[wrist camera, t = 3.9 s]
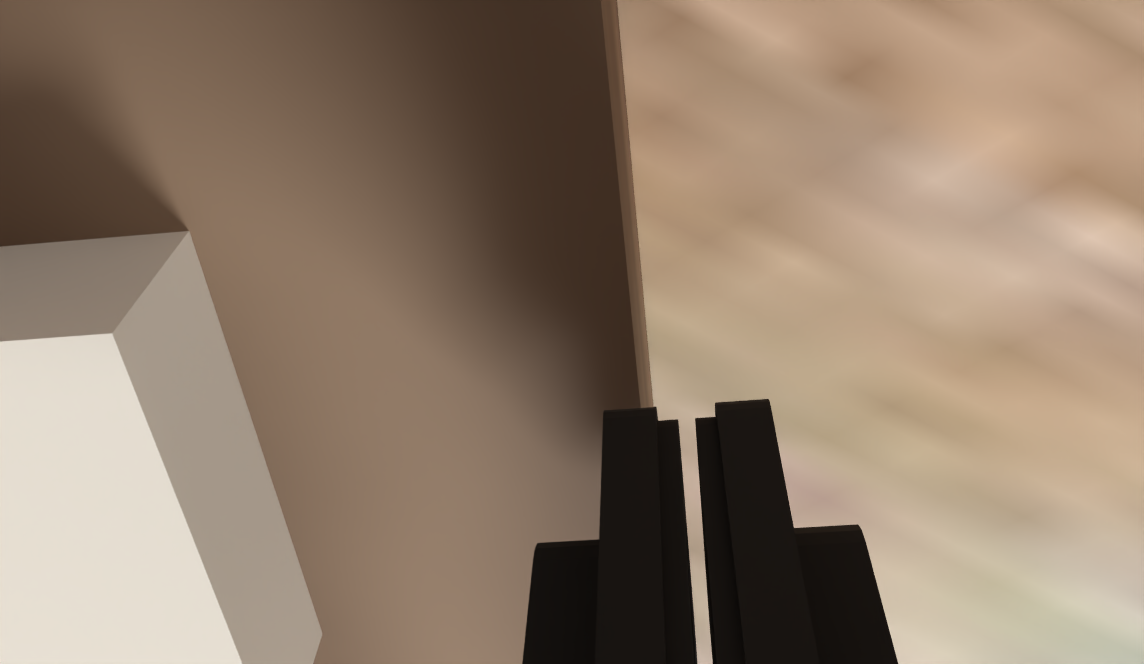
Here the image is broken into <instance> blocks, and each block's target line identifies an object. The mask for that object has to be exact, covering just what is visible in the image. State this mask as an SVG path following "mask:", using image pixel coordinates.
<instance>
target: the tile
mask: <svg viewBox="0 0 1144 664" xmlns="http://www.w3.org/2000/svg"><path fill="white" fill-rule="evenodd" d="M321 637H322V631H321V628H320V625H319V622H318V619H317V616H316V613H315V610H314V607H313V603H312V600H311V597H310V594H309V591H308V588H307V585H306V582H305V579H304V576H303V573H302V570H301V567H300V564H299V561H298V558H297V555H296V552H295V549H294V546H293V543H292V540H291V537H290V534H289V531H288V528H287V525H286V522H285V519H284V516H283V513H282V510H281V507H280V504H279V501H278V498H277V495H276V492H275V489H274V486H273V483H272V480H271V477H270V474H269V471H268V468H267V465H266V462H265V459H264V456H263V452H262V449H261V446H260V443H259V440H258V437H257V434H256V431H255V428H254V425H253V422H252V419H251V416H250V413H249V410H248V407H247V404H246V401H245V398H244V395H243V392H242V389H241V386H240V383H239V380H238V377H237V374H236V371H235V368H234V365H233V362H232V359H231V356H230V353H229V350H228V347H227V344H226V341H225V338H224V335H223V332H222V329H221V326H220V323H219V320H218V317H217V314H216V311H215V308H214V305H213V301H212V298H211V295H210V292H209V289H208V286H207V283H206V280H205V277H204V274H203V271H202V268H201V265H200V262H199V259H198V256H197V253H196V250H195V247H194V244H193V241H192V238H191V235H190V232H189V231H183V232H171V233H159V234H147V235H134V236H122V237H110V238H98V239H86V240H74V241H62V242H50V243H38V244H26V245H14V246H2V247H0V664H313V662H314V659H315V656H316V653H317V650H318V646H319V643H320V640H321Z"/></svg>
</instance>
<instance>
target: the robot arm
mask: <svg viewBox="0 0 1144 664" xmlns="http://www.w3.org/2000/svg"><path fill="white" fill-rule="evenodd" d="M715 416H716V417H708V418H695V422H696V437H697V452H698V466H699V480H700V494H701V509H702V523H703V537H704V551H705V566H706V580H707V594H708V608H709V622H710V634H711V646H712V658H713V664H898V662H897V658H896V654H895V650H894V647H893V643H892V639H891V635H890V632H889V628H888V624H887V620H886V617H885V613H884V609H883V605H882V602H881V598H880V594H879V590H878V587H877V583H876V579H875V575H874V572H873V568H872V564H871V560H870V557H869V553H868V549H867V545H866V542H865V539H864V536H863V533H862V530H861V528H860V527H859V525H841V526H824V527H806V528H794V527H793V521H792V516H791V511H790V506H789V500H788V495H787V490H786V484H785V479H784V474H783V469H782V463H781V458H780V453H779V447H778V442H777V437H776V432H775V426H774V421H773V416H772V410H771V406H770V401H769V399H763V400H748V401H734V402H719V403H715ZM522 664H697V652H696V637H695V624H694V611H693V598H692V585H691V573H690V561H689V548H688V536H687V523H686V511H685V498H684V486H683V473H682V461H681V448H680V436H679V424H678V420H663V421H658V417H657V409H656V407H646V408H631V409H617V410H604V412H603V431H602V462H601V494H600V526H599V539H596V540H579V541H561V542H544V543H537V545H536V547H535V550H534V557H533V564H532V574H531V583H530V593H529V603H528V612H527V622H526V632H525V642H524V651H523V661H522Z"/></svg>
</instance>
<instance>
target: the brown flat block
mask: <svg viewBox="0 0 1144 664" xmlns="http://www.w3.org/2000/svg"><path fill="white" fill-rule="evenodd" d="M183 231H189V232H190V235H191V238H192V241H193V244H194V247H195V250H196V253H197V256H198V259H199V262H200V265H201V268H202V271H203V274H204V277H205V280H206V283H207V286H208V289H209V292H210V295H211V298H212V301H213V305H214V308H215V311H216V314H217V317H218V320H219V323H220V326H221V329H222V332H223V335H224V338H225V341H226V344H227V347H228V350H229V353H230V356H231V359H232V362H233V365H234V368H235V371H236V374H237V377H238V380H239V383H240V386H241V389H242V392H243V395H244V398H245V401H246V404H247V407H248V410H249V413H250V416H251V419H252V422H253V425H254V428H255V431H256V434H257V437H258V440H259V443H260V446H261V449H262V452H263V456H264V459H265V462H266V465H267V468H268V471H269V474H270V477H271V480H272V483H273V486H274V489H275V492H276V495H277V498H278V501H279V504H280V507H281V510H282V513H283V516H284V519H285V522H286V525H287V528H288V531H289V534H290V537H291V540H292V543H293V546H294V549H295V552H296V555H297V558H298V561H299V564H300V567H301V570H302V573H303V576H304V579H305V582H306V585H307V588H308V591H309V594H310V597H311V600H312V603H313V607H314V610H315V613H316V616H317V619H318V622H319V625H320V628H321V631H322V637H321V640H320V643H319V646H318V650H317V653H316V656H315V659H314V662H313V664H522V661H523V651H524V642H525V632H526V622H527V612H528V603H529V593H530V583H531V574H532V564H533V557H534V550H535V547H536V545H537V543H544V542H561V541H579V540H596V539H599V526H600V494H601V462H602V431H603V412H604V410H617V409H631V408H646V407H653V397H652V386H651V375H650V364H649V352H648V341H647V330H646V319H645V308H644V297H643V286H642V275H641V264H640V253H639V241H638V230H637V219H636V208H635V197H634V186H633V175H632V164H631V153H630V142H629V130H628V119H627V108H626V97H625V86H624V75H623V64H622V53H621V42H620V31H619V20H618V8H617V0H0V247H2V246H14V245H26V244H38V243H50V242H62V241H74V240H86V239H98V238H110V237H122V236H134V235H147V234H159V233H171V232H183Z"/></svg>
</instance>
